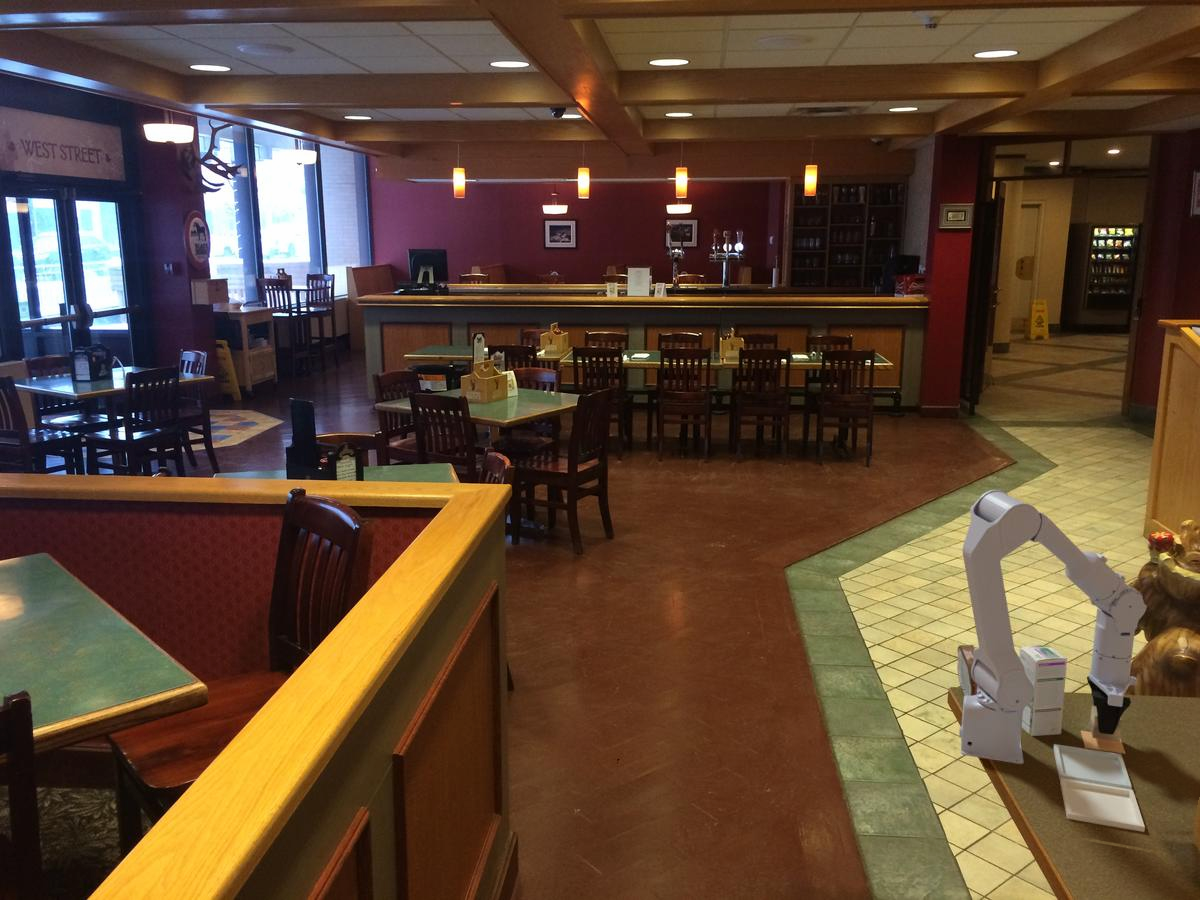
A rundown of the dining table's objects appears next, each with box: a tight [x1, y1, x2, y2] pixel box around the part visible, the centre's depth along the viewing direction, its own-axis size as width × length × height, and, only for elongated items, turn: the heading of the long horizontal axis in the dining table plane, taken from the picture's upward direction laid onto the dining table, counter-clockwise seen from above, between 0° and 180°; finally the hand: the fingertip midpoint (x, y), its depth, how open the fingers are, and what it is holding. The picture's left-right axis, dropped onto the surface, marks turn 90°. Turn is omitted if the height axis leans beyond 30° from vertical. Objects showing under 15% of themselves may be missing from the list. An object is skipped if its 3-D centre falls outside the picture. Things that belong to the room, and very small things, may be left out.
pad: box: [1080, 730, 1126, 755], centre depth 159 cm, size 6×6×1 cm
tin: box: [957, 644, 977, 697], centre depth 177 cm, size 15×3×8 cm, turn 168°
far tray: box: [1053, 743, 1132, 790], centre depth 151 cm, size 10×10×1 cm
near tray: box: [1059, 778, 1146, 833], centre depth 141 cm, size 10×10×1 cm
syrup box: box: [1018, 644, 1068, 737], centre depth 163 cm, size 6×6×14 cm
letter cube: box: [1089, 705, 1123, 742], centre depth 159 cm, size 4×4×4 cm
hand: (1104, 726), depth 159 cm, fingers closed on letter cube, 4 cm apart
